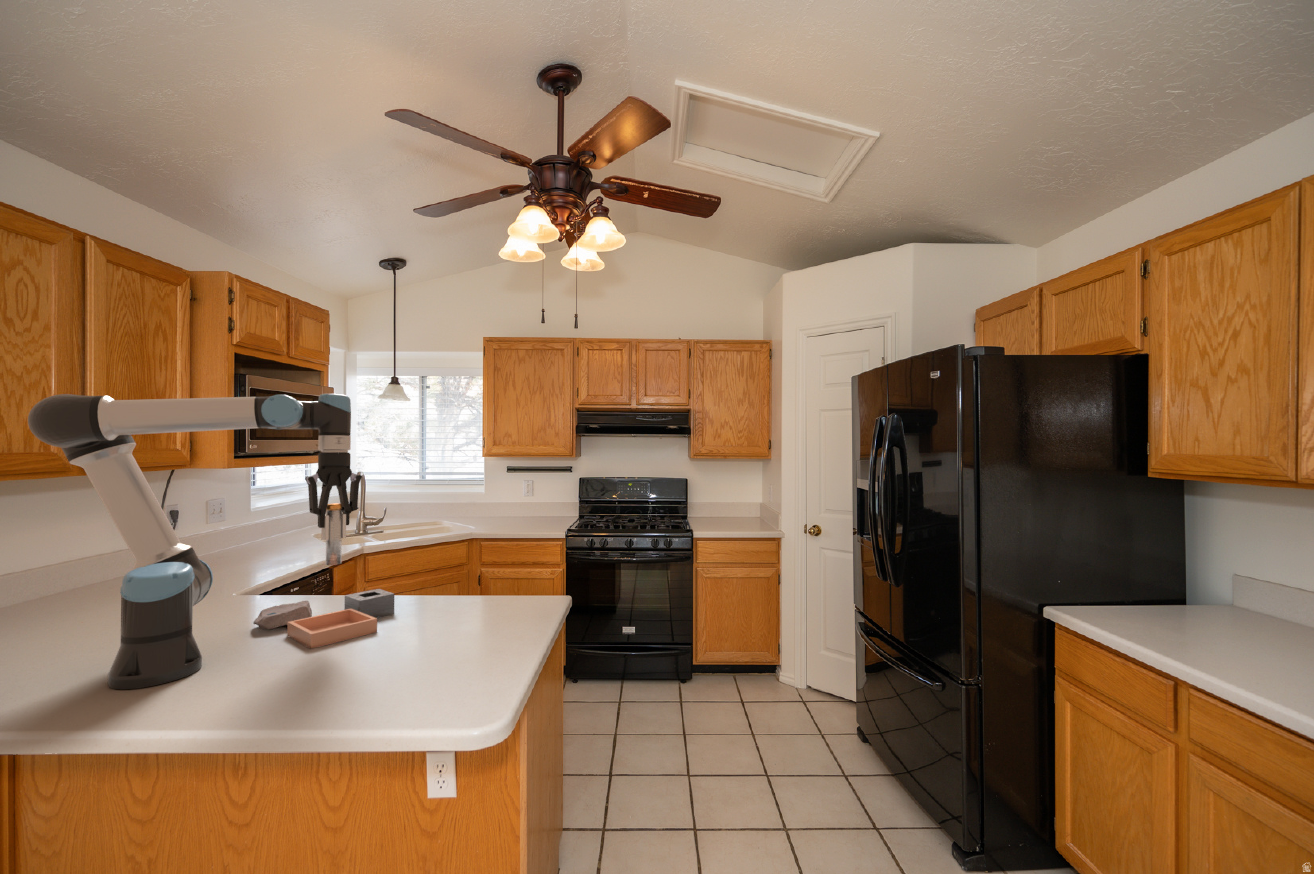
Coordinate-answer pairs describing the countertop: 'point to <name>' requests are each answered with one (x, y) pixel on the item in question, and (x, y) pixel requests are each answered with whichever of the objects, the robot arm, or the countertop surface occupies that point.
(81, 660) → the countertop surface
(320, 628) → the tray
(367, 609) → the block
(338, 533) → the pin
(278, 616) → the decorative stone
